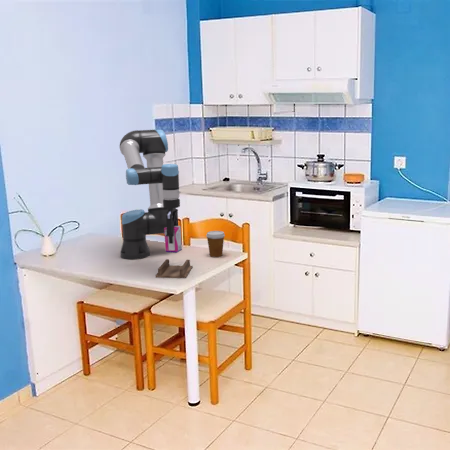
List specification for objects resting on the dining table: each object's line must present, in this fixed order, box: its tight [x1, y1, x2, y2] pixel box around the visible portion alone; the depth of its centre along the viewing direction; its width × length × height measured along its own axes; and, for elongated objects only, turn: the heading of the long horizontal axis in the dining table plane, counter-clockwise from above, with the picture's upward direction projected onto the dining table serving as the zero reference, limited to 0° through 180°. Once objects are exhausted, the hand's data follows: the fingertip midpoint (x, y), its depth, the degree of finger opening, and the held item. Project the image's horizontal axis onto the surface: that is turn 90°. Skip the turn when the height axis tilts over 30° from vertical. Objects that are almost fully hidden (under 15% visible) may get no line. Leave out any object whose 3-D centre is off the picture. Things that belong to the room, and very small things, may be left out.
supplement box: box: [164, 225, 183, 254], centre depth 258 cm, size 6×6×12 cm
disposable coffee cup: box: [205, 230, 226, 258], centre depth 287 cm, size 10×10×12 cm
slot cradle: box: [155, 258, 194, 279], centre depth 261 cm, size 14×16×4 cm
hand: (173, 247), depth 259 cm, fingers closed on supplement box, 7 cm apart
